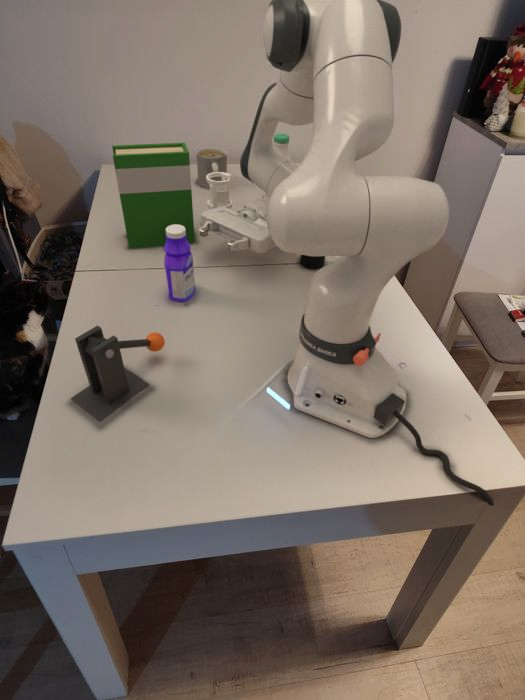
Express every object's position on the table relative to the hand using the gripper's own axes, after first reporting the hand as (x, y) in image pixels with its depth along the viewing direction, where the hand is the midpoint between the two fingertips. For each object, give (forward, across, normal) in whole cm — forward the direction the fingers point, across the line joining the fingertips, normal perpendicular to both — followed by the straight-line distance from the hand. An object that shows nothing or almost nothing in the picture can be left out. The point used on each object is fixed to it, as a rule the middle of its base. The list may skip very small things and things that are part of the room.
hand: (214, 240), depth 103 cm
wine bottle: (-22, +13, +11) cm, 28 cm away
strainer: (-22, -20, +11) cm, 31 cm away
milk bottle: (-47, -18, +11) cm, 51 cm away
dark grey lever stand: (+41, +14, +10) cm, 44 cm away
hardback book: (-3, -25, +11) cm, 27 cm away
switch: (+36, +13, +3) cm, 38 cm away
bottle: (+11, 0, +10) cm, 15 cm away
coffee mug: (-41, -42, +11) cm, 59 cm away
